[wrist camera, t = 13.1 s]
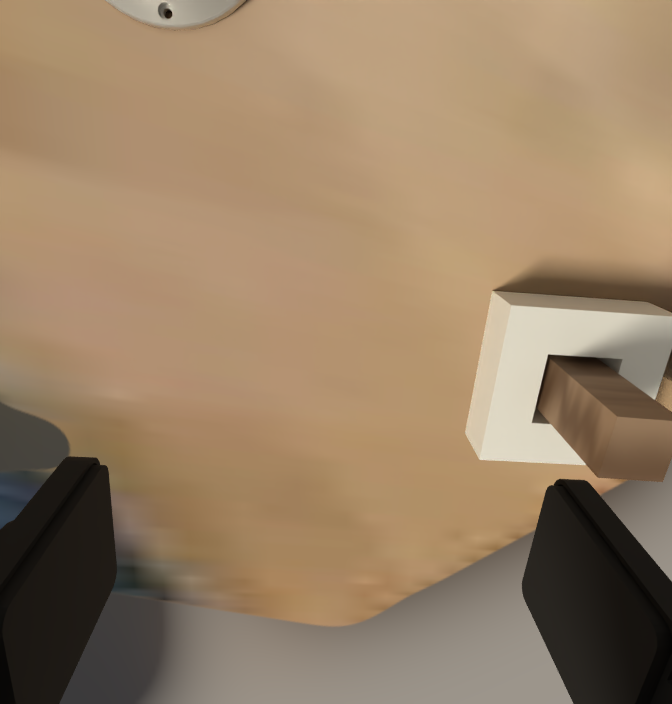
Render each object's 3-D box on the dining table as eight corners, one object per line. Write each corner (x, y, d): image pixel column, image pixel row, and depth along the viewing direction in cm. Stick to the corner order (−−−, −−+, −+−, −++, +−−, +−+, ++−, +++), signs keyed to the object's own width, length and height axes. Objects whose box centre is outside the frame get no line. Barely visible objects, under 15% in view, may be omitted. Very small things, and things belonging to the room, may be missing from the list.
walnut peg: (533, 343, 40) (617, 416, 29) (582, 348, 41) (685, 421, 29) (521, 390, 42) (597, 477, 31) (569, 394, 42) (662, 481, 31)
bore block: (492, 290, 39) (511, 305, 35) (647, 301, 39) (681, 317, 36) (465, 433, 43) (479, 459, 39) (605, 440, 44) (633, 467, 40)
